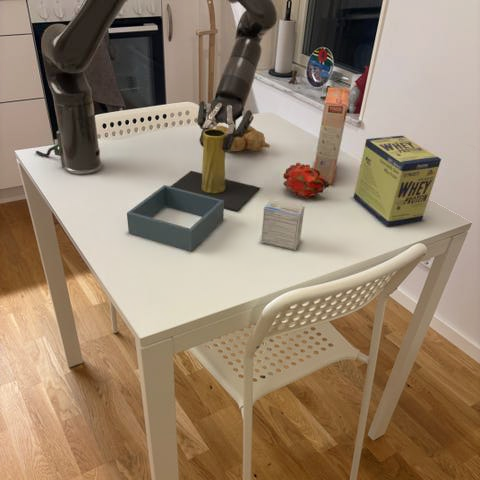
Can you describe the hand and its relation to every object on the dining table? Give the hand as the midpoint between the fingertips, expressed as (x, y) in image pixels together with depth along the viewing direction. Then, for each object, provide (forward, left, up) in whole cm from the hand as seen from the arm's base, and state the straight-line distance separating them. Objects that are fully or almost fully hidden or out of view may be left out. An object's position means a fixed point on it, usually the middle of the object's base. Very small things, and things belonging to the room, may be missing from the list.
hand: (213, 147), depth 123 cm
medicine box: (+24, -15, -11) cm, 30 cm away
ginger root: (-5, +29, -11) cm, 32 cm away
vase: (0, 0, -11) cm, 11 cm away
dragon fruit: (+21, +10, -11) cm, 26 cm away
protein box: (+42, +13, -11) cm, 45 cm away
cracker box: (+22, +25, -11) cm, 35 cm away
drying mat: (0, 0, -11) cm, 11 cm away
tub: (+1, -20, -11) cm, 23 cm away
